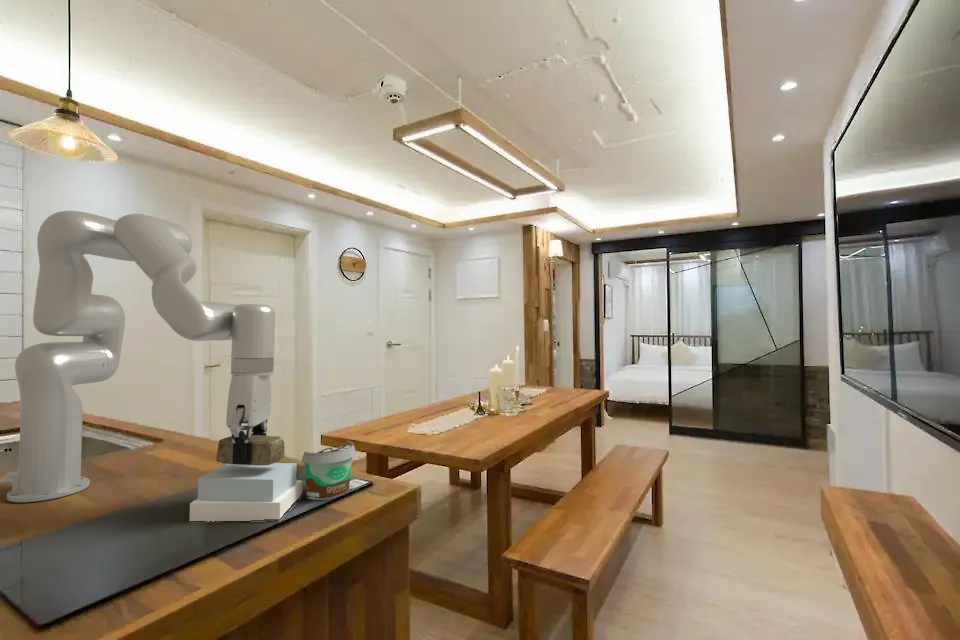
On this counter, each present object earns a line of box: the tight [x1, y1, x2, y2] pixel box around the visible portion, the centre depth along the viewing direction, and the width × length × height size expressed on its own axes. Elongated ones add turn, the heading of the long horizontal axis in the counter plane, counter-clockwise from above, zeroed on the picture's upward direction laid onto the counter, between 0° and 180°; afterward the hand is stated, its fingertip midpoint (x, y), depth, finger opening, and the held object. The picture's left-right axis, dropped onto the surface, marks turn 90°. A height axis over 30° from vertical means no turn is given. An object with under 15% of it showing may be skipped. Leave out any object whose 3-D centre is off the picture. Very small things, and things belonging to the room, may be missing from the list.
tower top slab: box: [197, 462, 298, 501], centre depth 87 cm, size 14×10×4 cm
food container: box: [301, 440, 356, 498], centre depth 94 cm, size 12×6×10 cm, turn 148°
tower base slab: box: [189, 479, 303, 523], centre depth 87 cm, size 16×12×4 cm
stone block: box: [215, 435, 286, 465], centre depth 87 cm, size 6×12×5 cm, turn 85°
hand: (250, 457), depth 87 cm, fingers closed on stone block, 6 cm apart
